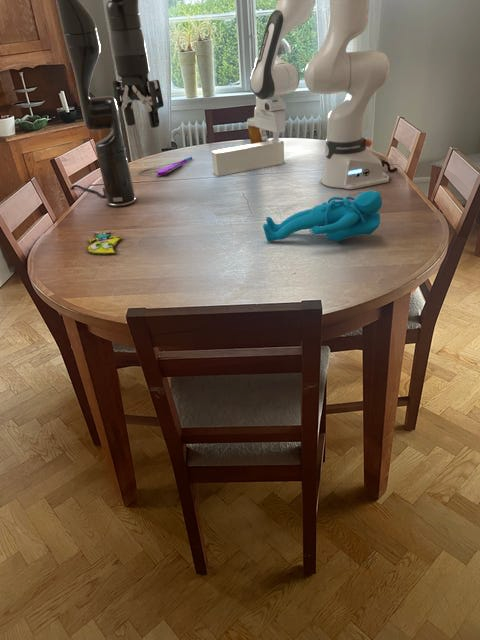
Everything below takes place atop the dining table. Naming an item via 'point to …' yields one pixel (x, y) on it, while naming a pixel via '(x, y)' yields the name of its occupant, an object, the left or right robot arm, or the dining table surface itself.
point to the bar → (247, 157)
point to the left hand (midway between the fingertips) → (143, 126)
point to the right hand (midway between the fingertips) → (269, 142)
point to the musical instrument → (168, 167)
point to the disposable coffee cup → (254, 132)
